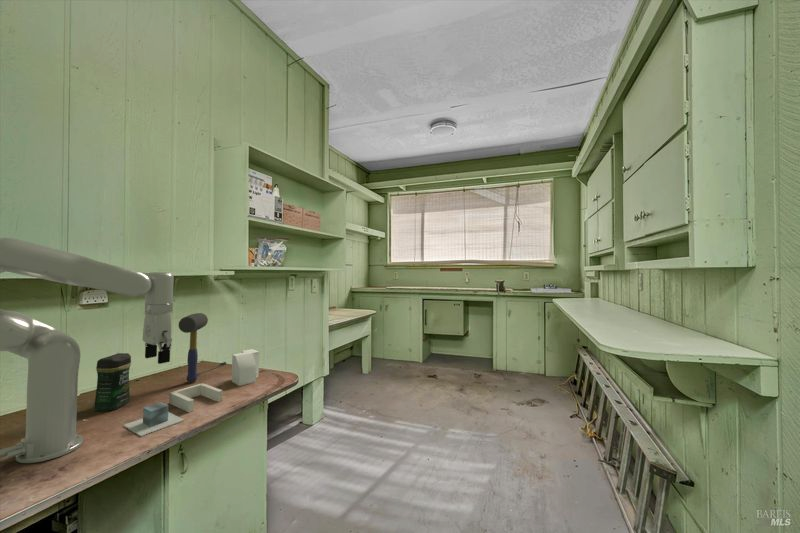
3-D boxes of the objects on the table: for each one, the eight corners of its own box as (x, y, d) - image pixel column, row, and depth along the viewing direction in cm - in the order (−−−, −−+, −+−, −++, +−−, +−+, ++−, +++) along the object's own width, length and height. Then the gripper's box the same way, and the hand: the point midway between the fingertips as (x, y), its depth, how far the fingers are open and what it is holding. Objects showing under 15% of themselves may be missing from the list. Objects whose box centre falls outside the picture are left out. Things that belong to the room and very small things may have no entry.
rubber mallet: (193, 387, 135) (196, 316, 135) (174, 387, 134) (176, 316, 134) (207, 377, 148) (209, 312, 148) (190, 377, 147) (192, 311, 147)
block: (150, 427, 101) (150, 411, 101) (142, 422, 104) (143, 407, 104) (167, 420, 106) (168, 405, 106) (160, 416, 108) (160, 402, 108)
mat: (141, 436, 96) (141, 435, 96) (123, 426, 102) (123, 424, 102) (184, 420, 107) (184, 419, 107) (165, 411, 113) (165, 410, 113)
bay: (188, 412, 113) (189, 401, 113) (169, 403, 119) (169, 392, 119) (222, 400, 123) (222, 390, 123) (202, 392, 130) (202, 383, 130)
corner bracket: (251, 373, 154) (252, 348, 154) (263, 379, 146) (264, 353, 146) (228, 379, 146) (229, 353, 146) (239, 386, 138) (239, 358, 138)
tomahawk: (199, 380, 146) (199, 378, 146) (188, 377, 148) (188, 375, 148) (234, 366, 166) (234, 363, 166) (223, 363, 168) (223, 361, 168)
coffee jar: (113, 412, 111) (115, 358, 111) (89, 412, 110) (90, 358, 111) (134, 400, 121) (136, 351, 121) (112, 400, 120) (113, 351, 120)
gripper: (134, 307, 109) (132, 357, 109) (157, 312, 99) (155, 367, 99) (160, 305, 115) (158, 353, 115) (183, 310, 106) (182, 362, 106)
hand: (157, 360), depth 107 cm, fingers open, 9 cm apart
